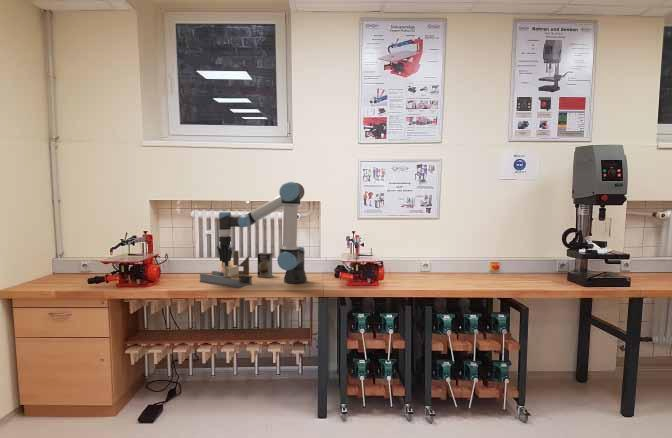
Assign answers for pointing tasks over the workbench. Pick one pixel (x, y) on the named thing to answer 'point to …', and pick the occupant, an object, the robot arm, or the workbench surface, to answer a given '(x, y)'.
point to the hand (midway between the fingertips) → (225, 272)
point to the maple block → (231, 271)
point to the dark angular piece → (244, 264)
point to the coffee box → (264, 265)
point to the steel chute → (226, 279)
